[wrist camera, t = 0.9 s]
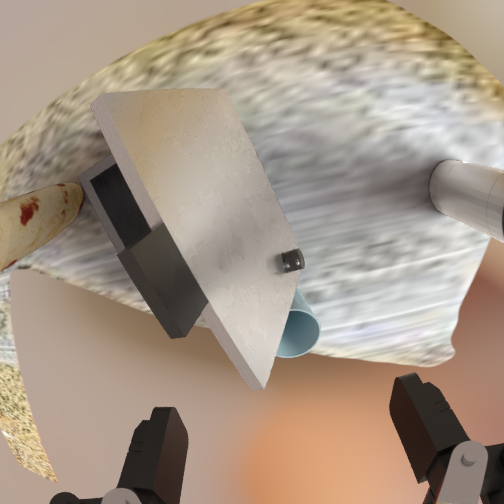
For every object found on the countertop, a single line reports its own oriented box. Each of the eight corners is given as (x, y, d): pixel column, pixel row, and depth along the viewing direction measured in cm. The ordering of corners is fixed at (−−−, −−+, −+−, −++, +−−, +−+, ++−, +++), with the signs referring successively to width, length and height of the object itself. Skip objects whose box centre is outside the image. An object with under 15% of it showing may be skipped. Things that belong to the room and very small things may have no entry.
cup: (308, 312, 49) (322, 351, 39) (262, 321, 49) (266, 363, 40) (303, 270, 46) (318, 304, 37) (253, 279, 47) (255, 316, 37)
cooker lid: (217, 93, 28) (237, 83, 27) (296, 262, 35) (315, 257, 34) (47, 112, 11) (75, 82, 10) (238, 424, 17) (272, 424, 16)
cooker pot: (213, 89, 37) (205, 73, 28) (290, 252, 45) (303, 281, 36) (102, 151, 39) (68, 156, 30) (183, 298, 47) (171, 335, 38)
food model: (70, 239, 43) (-6, 295, 25) (43, 213, 42) (-39, 257, 23) (100, 191, 41) (18, 230, 22) (71, 164, 39) (-19, 188, 21)
